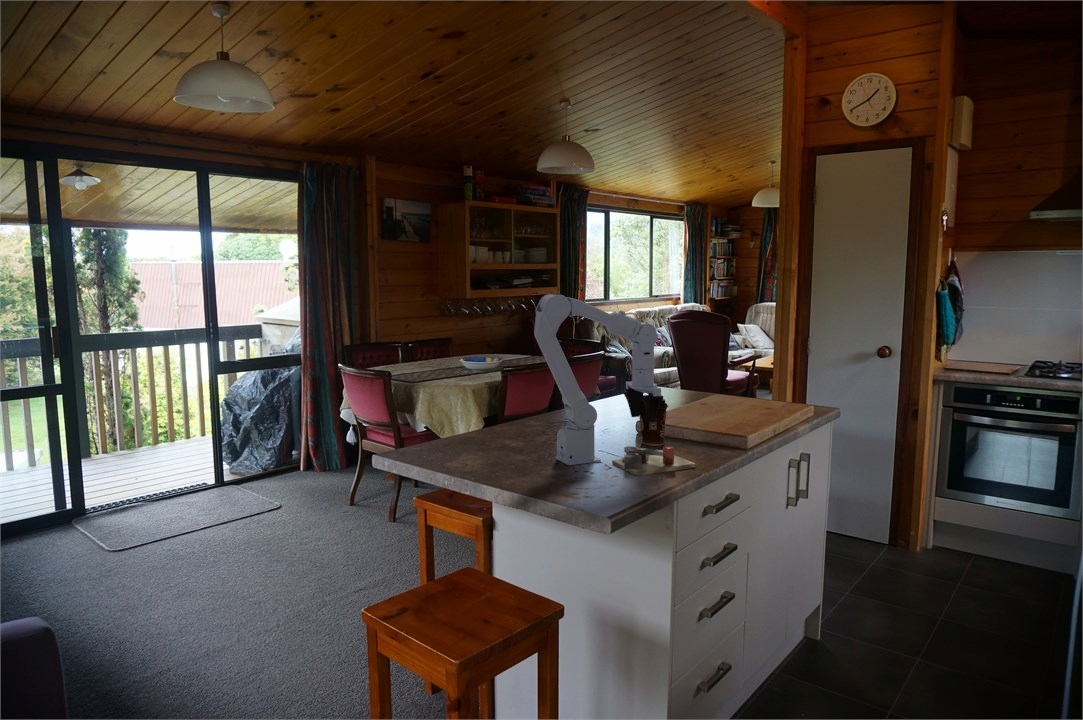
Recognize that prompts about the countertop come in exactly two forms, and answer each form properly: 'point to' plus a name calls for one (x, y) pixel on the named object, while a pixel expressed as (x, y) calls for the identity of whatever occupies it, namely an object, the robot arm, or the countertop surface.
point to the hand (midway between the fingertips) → (642, 419)
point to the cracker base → (650, 464)
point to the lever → (653, 453)
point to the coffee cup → (653, 425)
